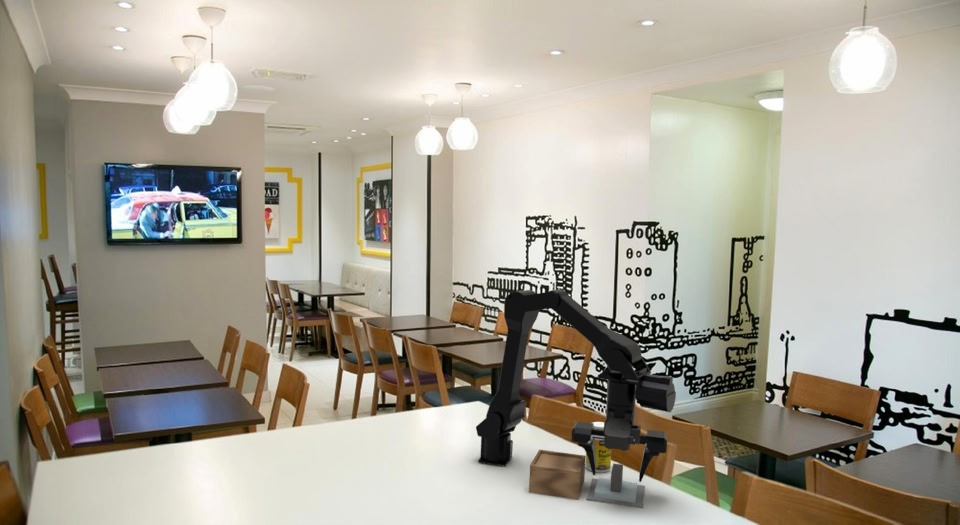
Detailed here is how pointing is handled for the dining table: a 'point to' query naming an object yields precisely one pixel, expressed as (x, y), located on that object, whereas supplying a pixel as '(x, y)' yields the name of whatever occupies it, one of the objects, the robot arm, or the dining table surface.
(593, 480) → the mat
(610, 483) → the lid
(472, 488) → the dining table surface
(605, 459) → the supplement bottle
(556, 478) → the walnut box
